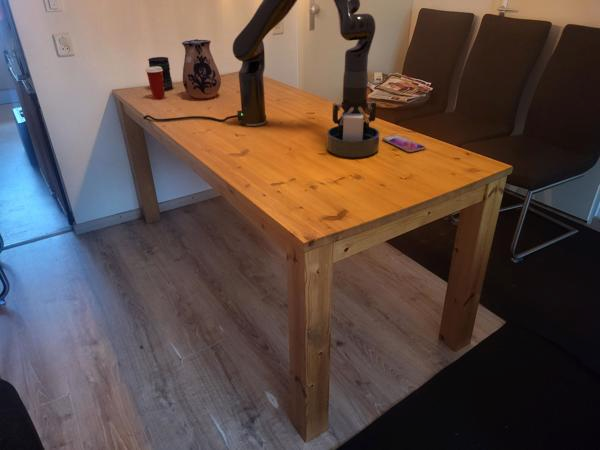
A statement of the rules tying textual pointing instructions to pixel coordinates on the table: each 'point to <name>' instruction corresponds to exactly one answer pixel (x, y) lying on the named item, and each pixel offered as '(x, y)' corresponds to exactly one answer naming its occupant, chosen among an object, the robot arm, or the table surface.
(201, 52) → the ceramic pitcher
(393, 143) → the smartphone
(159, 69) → the paper cup
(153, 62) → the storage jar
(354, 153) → the bowl
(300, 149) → the table surface
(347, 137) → the cosmetics box
